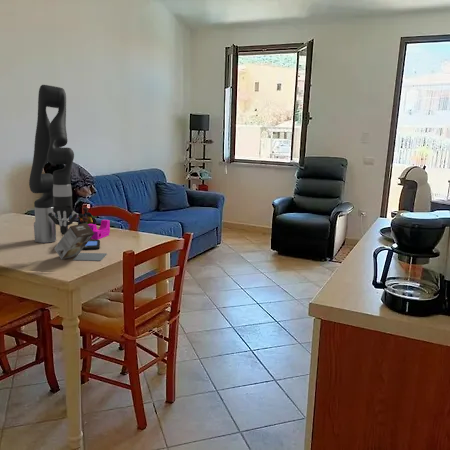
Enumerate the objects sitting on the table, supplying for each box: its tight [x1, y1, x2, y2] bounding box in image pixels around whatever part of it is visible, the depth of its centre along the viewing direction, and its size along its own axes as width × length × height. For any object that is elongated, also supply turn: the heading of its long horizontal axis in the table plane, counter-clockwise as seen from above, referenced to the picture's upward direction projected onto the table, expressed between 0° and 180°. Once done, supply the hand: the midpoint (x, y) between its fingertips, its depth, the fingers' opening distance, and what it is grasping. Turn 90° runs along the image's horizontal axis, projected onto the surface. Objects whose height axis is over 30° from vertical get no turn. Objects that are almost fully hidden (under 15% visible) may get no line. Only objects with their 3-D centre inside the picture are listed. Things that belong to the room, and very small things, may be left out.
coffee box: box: [53, 223, 94, 260], centre depth 189 cm, size 9×6×16 cm
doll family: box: [76, 206, 98, 225], centre depth 235 cm, size 23×9×13 cm, turn 37°
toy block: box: [88, 219, 111, 240], centre depth 231 cm, size 15×6×8 cm, turn 161°
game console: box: [81, 239, 101, 251], centre depth 211 cm, size 16×14×9 cm
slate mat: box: [72, 252, 108, 262], centre depth 194 cm, size 12×11×1 cm
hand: (64, 234), depth 191 cm, fingers closed
